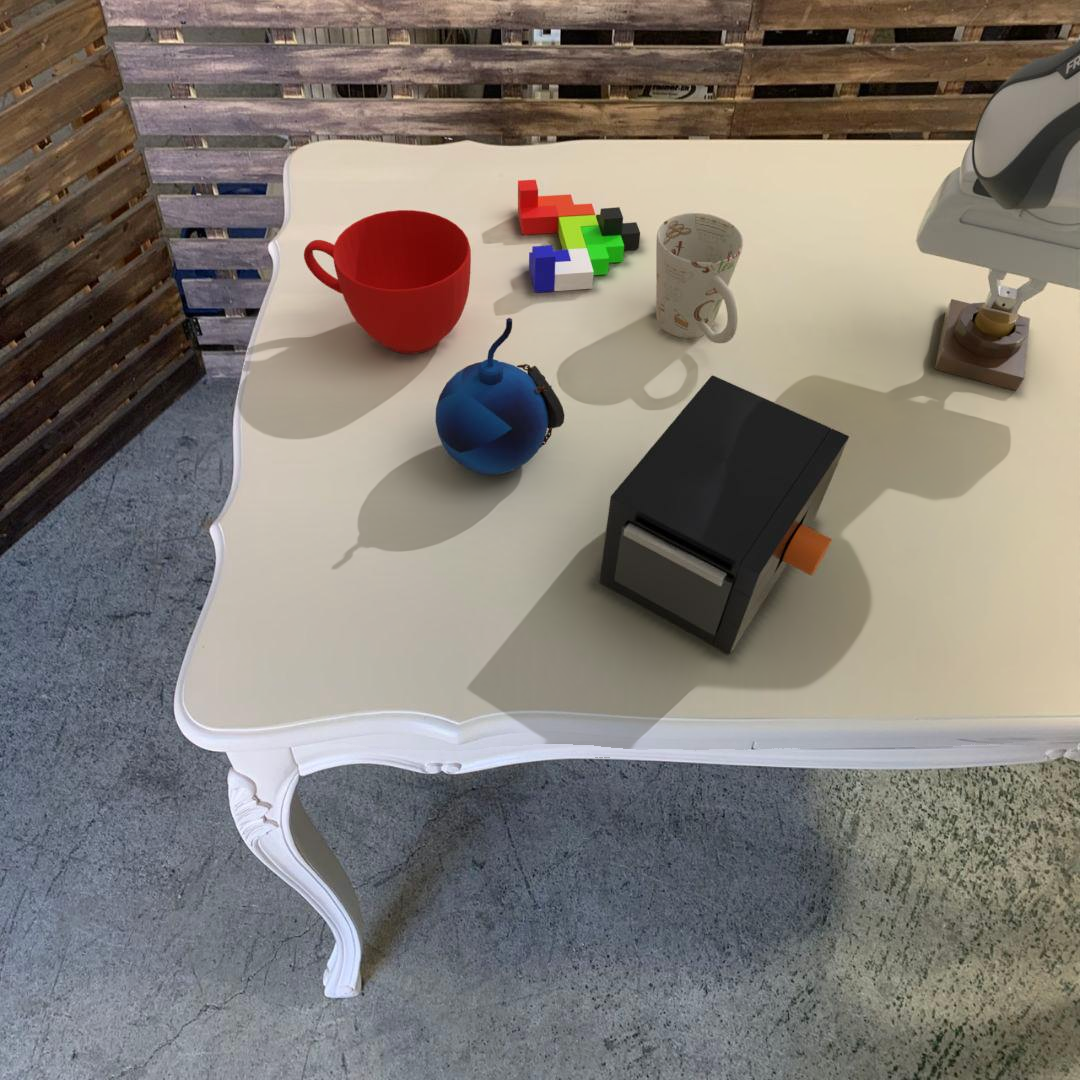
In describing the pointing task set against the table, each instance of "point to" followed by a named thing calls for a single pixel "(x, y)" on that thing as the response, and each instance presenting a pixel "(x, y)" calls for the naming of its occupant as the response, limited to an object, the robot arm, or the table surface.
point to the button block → (981, 348)
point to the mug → (696, 275)
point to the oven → (717, 510)
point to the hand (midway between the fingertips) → (1000, 307)
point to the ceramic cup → (400, 276)
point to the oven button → (806, 549)
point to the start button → (995, 321)
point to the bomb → (496, 414)
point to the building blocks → (572, 239)
